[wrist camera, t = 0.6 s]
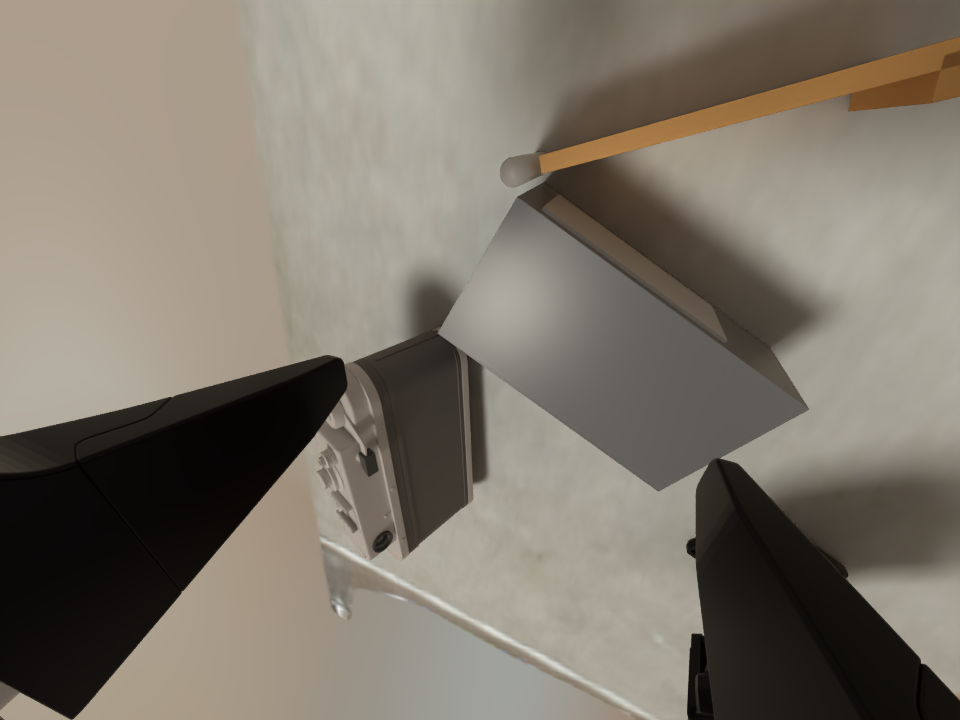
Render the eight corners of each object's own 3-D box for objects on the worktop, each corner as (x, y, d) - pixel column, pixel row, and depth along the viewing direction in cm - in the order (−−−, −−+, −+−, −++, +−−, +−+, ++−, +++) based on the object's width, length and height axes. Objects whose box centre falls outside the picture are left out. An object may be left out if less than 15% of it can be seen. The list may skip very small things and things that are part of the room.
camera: (479, 336, 22) (314, 413, 16) (483, 510, 30) (374, 609, 24) (394, 302, 28) (246, 348, 21) (416, 456, 36) (313, 523, 29)
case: (792, 333, 17) (839, 392, 13) (654, 428, 23) (658, 491, 19) (538, 146, 17) (508, 151, 13) (458, 287, 22) (420, 320, 18)
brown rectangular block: (563, 181, 17) (544, 194, 14) (560, 150, 17) (538, 155, 13) (878, 104, 13) (977, 92, 9) (888, 58, 12) (998, 25, 8)
